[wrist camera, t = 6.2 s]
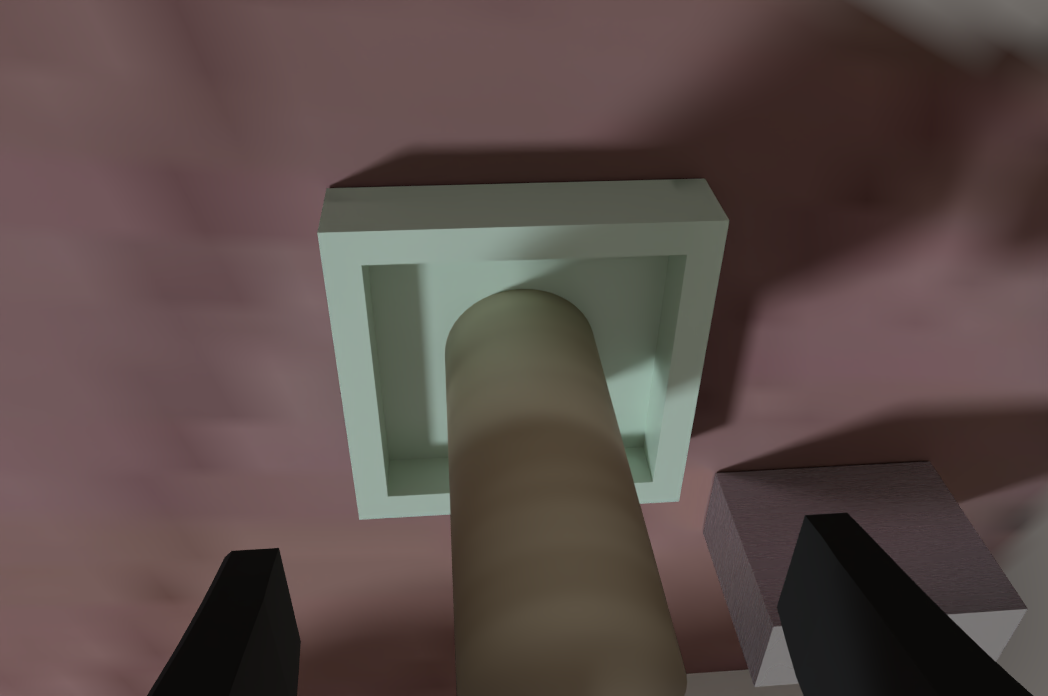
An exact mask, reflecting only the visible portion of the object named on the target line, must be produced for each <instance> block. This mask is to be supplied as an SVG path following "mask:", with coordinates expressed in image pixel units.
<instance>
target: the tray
mask: <svg viewBox="0 0 1048 696" xmlns="http://www.w3.org/2000/svg"><path fill="white" fill-rule="evenodd" d="M728 226H729V219H728V217H727V215H726V214H725V212H724V210H723V209H722V207H721V205H720V204H719V202H718V200H717V198H716V197H715V195H714V193H713V192H712V190H711V188H710V187H709V185H708V183H707V181H706V180H705V179H669V180H630V181H591V182H552V183H513V184H474V185H435V186H396V187H358V188H327V189H326V194H325V199H324V204H323V208H322V213H321V218H320V223H319V228H318V232H317V233H318V240H319V247H320V254H321V261H322V267H323V274H324V281H325V288H326V295H327V301H328V308H329V315H330V322H331V329H332V336H333V342H334V349H335V356H336V363H337V370H338V376H339V383H340V390H341V397H342V404H343V411H344V417H345V424H346V431H347V438H348V445H349V451H350V458H351V465H352V472H353V479H354V486H355V492H356V499H357V506H358V513H359V520H361V519H378V518H396V517H413V516H431V515H448V514H450V489H449V460H448V431H447V403H446V374H445V346H446V341H447V337H448V335H449V332H450V330H451V328H452V327H453V325H454V323H455V322H456V321H457V319H458V318H459V317H460V316H461V315H462V314H463V313H464V312H465V311H466V310H467V309H468V308H469V307H471V306H472V305H473V304H475V303H477V302H478V301H480V300H482V299H484V298H486V297H488V296H490V295H493V294H496V293H499V292H503V291H508V290H515V289H534V290H542V291H546V292H550V293H553V294H555V295H558V296H560V297H562V298H564V299H566V300H568V301H569V302H571V303H572V304H573V305H575V306H576V307H577V308H578V309H579V310H580V311H581V312H582V313H583V314H584V316H585V317H586V318H587V320H588V322H589V324H590V326H591V328H592V332H593V335H594V338H595V342H596V346H597V349H598V353H599V357H600V360H601V364H602V368H603V371H604V375H605V379H606V382H607V386H608V390H609V393H610V397H611V400H612V404H613V408H614V411H615V415H616V419H617V422H618V426H619V430H620V433H621V437H622V441H623V444H624V448H625V452H626V455H627V459H628V463H629V466H630V470H631V474H632V477H633V481H634V485H635V488H636V492H637V496H638V499H639V503H640V504H641V503H659V502H676V501H679V498H680V492H681V487H682V481H683V476H684V470H685V465H686V459H687V453H688V448H689V442H690V437H691V431H692V426H693V420H694V415H695V409H696V403H697V398H698V392H699V387H700V381H701V376H702V370H703V365H704V359H705V353H706V348H707V342H708V337H709V331H710V326H711V320H712V315H713V309H714V303H715V298H716V292H717V287H718V281H719V276H720V270H721V264H722V259H723V253H724V248H725V242H726V237H727V231H728Z"/></svg>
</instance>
